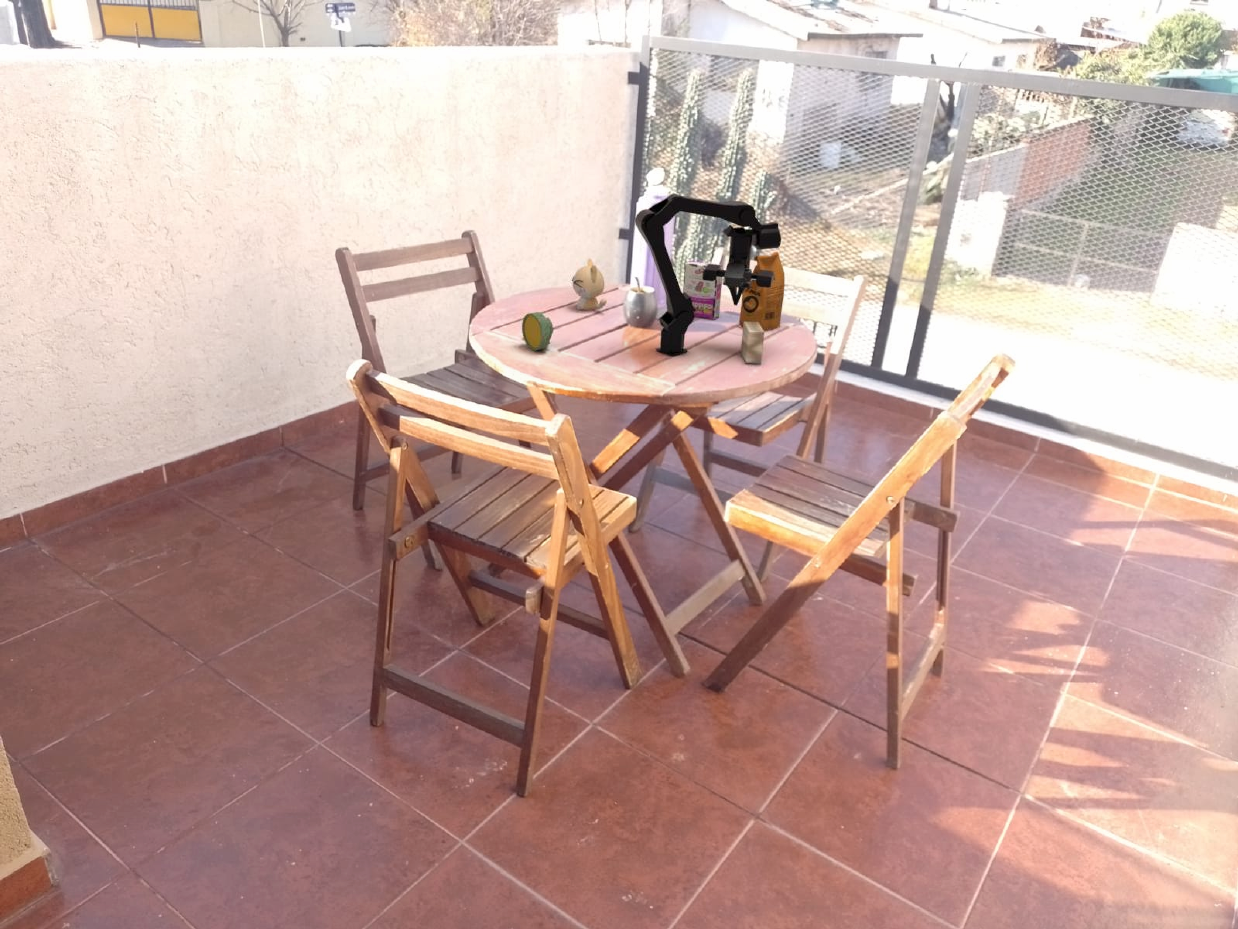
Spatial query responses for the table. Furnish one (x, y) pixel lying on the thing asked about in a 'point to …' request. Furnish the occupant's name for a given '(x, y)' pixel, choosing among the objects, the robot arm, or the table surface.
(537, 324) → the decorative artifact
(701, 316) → the candy bar box
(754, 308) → the coffee package
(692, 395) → the table surface
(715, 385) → the table surface
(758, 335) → the marked block
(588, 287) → the kitten
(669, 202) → the robot arm
